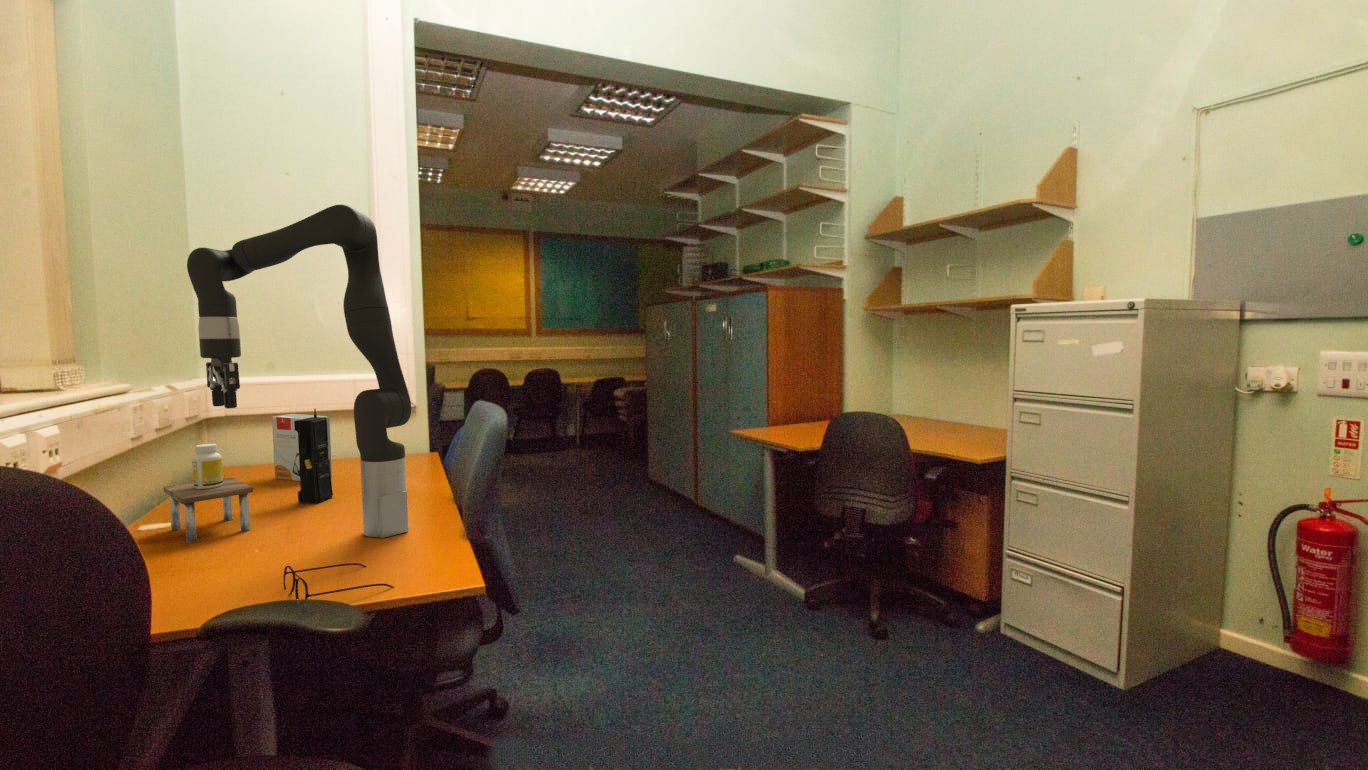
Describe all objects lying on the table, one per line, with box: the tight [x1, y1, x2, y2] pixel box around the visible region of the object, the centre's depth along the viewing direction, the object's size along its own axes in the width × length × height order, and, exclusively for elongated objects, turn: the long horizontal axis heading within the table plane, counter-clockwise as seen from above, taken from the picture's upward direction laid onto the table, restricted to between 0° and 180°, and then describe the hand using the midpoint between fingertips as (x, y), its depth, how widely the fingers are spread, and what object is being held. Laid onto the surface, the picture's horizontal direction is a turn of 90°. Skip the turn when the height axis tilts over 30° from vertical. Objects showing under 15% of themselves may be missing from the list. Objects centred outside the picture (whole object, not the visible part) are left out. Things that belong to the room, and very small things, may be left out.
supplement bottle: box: [191, 443, 224, 489], centre depth 142 cm, size 5×5×10 cm
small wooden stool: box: [163, 476, 254, 544], centre depth 143 cm, size 16×13×10 cm
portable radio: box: [294, 409, 334, 504], centre depth 167 cm, size 8×6×25 cm
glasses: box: [283, 562, 395, 601], centre depth 111 cm, size 14×15×5 cm
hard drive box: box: [271, 413, 333, 482], centre depth 193 cm, size 16×8×20 cm, turn 73°
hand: (224, 407), depth 143 cm, fingers open, 8 cm apart
